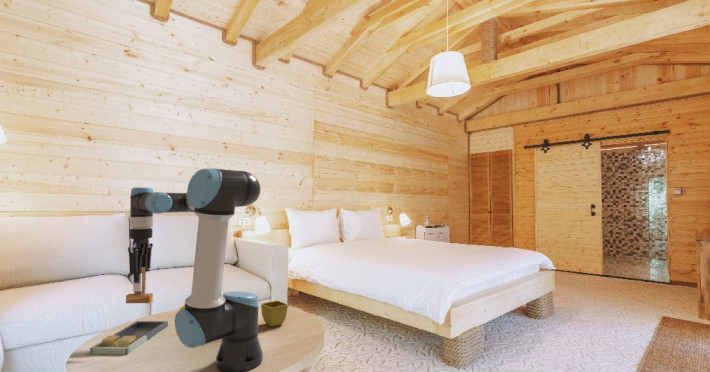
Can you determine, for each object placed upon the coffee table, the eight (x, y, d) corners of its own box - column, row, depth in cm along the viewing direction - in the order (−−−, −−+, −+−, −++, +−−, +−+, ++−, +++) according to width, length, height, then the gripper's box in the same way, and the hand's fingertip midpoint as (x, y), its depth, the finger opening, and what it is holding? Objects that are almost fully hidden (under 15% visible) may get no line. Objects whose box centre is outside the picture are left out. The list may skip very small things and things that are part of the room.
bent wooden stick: (149, 303, 139) (149, 268, 140) (125, 303, 139) (126, 268, 139) (152, 301, 142) (153, 267, 142) (129, 301, 142) (130, 267, 142)
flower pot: (277, 319, 169) (278, 300, 169) (288, 324, 162) (288, 304, 163) (260, 324, 163) (260, 303, 163) (270, 329, 156) (270, 308, 157)
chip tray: (127, 357, 128) (127, 348, 128) (89, 356, 128) (90, 348, 128) (146, 343, 140) (147, 335, 140) (112, 343, 140) (112, 335, 140)
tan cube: (112, 351, 132) (113, 339, 132) (101, 351, 132) (102, 339, 132) (120, 346, 136) (120, 335, 136) (109, 346, 136) (109, 335, 136)
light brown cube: (128, 351, 132) (129, 340, 132) (117, 351, 132) (117, 339, 132) (135, 346, 136) (135, 335, 136) (124, 346, 136) (124, 335, 136)
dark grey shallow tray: (146, 343, 140) (147, 335, 140) (112, 343, 140) (112, 335, 140) (167, 328, 156) (167, 321, 156) (136, 328, 156) (136, 321, 156)
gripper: (142, 226, 149) (140, 285, 148) (118, 229, 133) (117, 295, 133) (161, 226, 149) (160, 285, 149) (140, 229, 134) (138, 295, 133)
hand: (139, 290), depth 141 cm, fingers closed on bent wooden stick, 3 cm apart
